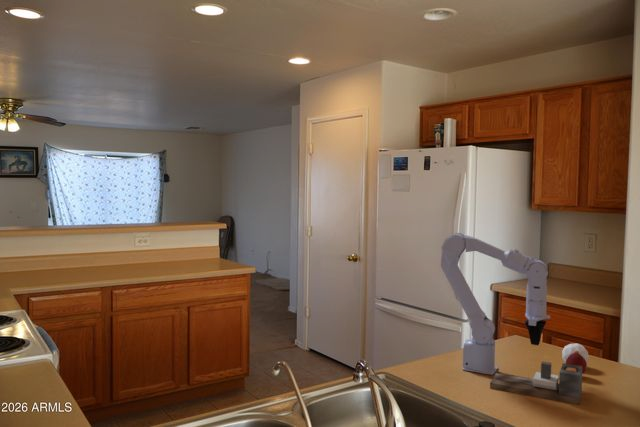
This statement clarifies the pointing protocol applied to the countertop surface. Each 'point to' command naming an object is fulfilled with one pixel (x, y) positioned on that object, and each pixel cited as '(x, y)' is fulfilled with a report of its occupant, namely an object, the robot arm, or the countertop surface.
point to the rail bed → (565, 392)
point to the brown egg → (571, 369)
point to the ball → (572, 348)
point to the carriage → (545, 377)
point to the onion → (577, 360)
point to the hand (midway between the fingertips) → (535, 344)
